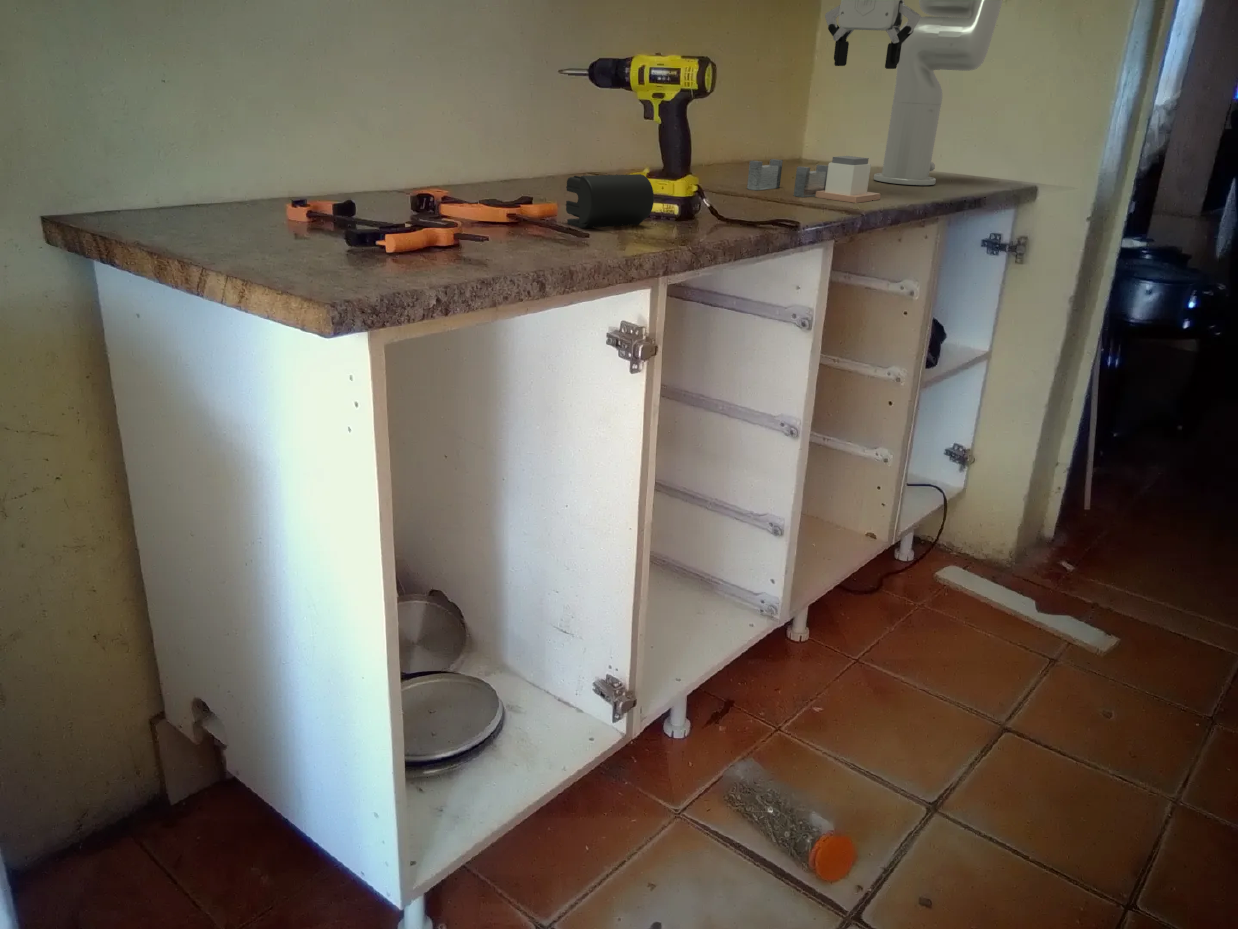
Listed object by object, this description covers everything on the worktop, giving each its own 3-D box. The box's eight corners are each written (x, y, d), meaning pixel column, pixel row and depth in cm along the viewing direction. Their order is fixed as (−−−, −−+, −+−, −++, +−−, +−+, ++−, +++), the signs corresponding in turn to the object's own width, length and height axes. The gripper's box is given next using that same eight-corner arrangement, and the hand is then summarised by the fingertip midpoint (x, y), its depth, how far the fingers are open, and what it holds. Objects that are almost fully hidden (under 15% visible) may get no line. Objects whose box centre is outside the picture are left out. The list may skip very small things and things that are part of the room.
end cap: (591, 232, 123) (593, 178, 120) (562, 223, 128) (564, 172, 125) (652, 228, 128) (656, 176, 126) (623, 220, 133) (625, 170, 131)
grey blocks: (770, 186, 180) (773, 158, 178) (826, 194, 173) (829, 165, 171) (746, 188, 174) (749, 160, 172) (803, 197, 167) (806, 167, 165)
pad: (840, 193, 175) (841, 188, 174) (879, 199, 170) (880, 193, 170) (815, 196, 168) (816, 191, 168) (855, 202, 164) (856, 196, 163)
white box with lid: (841, 189, 172) (846, 155, 169) (866, 193, 169) (871, 158, 166) (824, 191, 168) (829, 156, 165) (850, 195, 165) (855, 159, 162)
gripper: (822, -45, 160) (810, 64, 167) (918, -47, 150) (901, 70, 157) (843, -42, 165) (831, 64, 172) (938, -44, 155) (920, 69, 162)
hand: (864, 67), depth 165 cm, fingers open, 9 cm apart
